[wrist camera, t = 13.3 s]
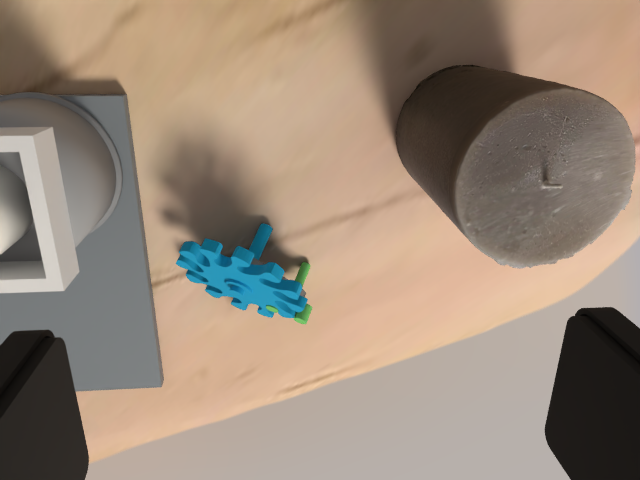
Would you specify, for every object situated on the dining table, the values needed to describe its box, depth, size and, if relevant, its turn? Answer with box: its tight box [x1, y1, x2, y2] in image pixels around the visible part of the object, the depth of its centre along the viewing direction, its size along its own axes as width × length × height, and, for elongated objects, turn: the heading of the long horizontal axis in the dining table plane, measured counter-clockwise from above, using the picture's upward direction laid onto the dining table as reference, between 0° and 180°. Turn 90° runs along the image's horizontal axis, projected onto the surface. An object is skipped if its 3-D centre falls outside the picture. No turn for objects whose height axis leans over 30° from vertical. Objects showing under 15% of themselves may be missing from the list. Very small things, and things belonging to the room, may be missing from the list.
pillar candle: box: [396, 65, 635, 268], centre depth 32 cm, size 10×10×15 cm
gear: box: [176, 223, 312, 324], centre depth 39 cm, size 11×6×10 cm
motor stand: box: [0, 92, 164, 391], centre depth 35 cm, size 24×14×12 cm, turn 0°
